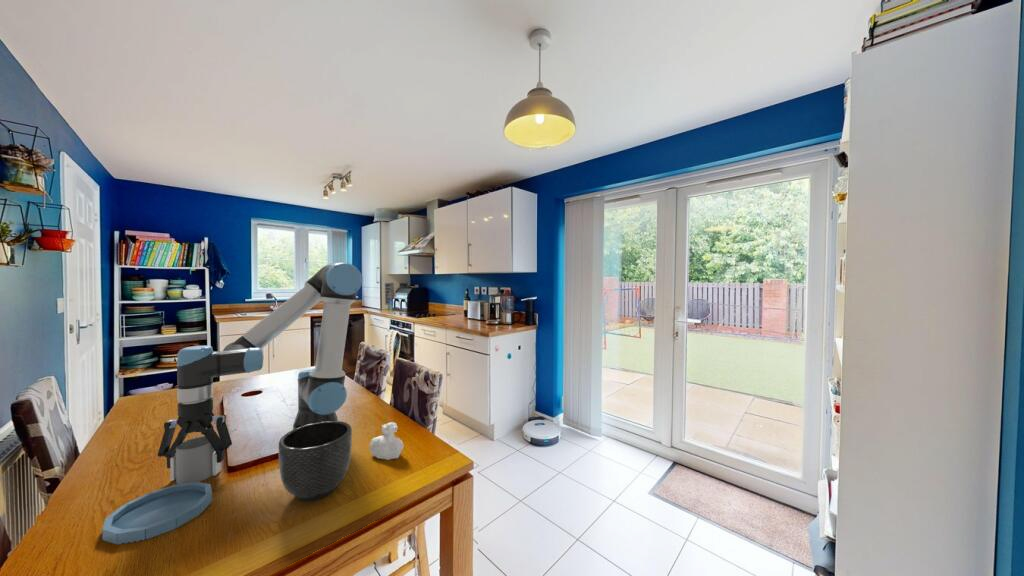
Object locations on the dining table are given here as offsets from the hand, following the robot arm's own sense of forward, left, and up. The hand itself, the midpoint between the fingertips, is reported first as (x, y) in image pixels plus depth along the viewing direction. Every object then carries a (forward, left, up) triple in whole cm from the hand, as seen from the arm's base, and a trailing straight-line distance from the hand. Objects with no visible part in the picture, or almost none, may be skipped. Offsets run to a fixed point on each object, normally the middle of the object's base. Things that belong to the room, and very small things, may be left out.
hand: (196, 475), depth 97 cm
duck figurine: (-53, +2, 0) cm, 53 cm away
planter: (-36, +17, 0) cm, 40 cm away
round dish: (-2, +17, 0) cm, 17 cm away
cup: (0, 0, 0) cm, 0 cm away
